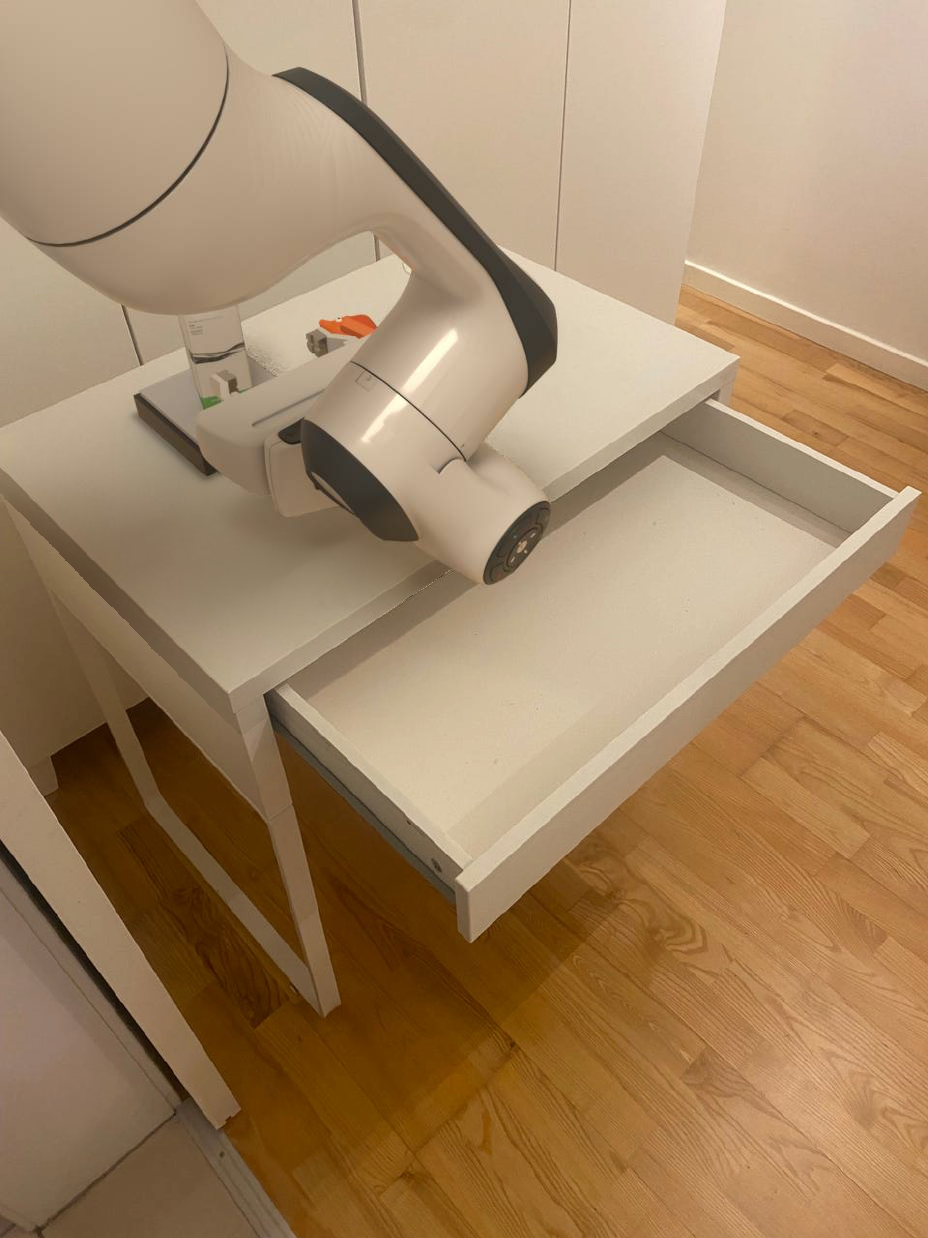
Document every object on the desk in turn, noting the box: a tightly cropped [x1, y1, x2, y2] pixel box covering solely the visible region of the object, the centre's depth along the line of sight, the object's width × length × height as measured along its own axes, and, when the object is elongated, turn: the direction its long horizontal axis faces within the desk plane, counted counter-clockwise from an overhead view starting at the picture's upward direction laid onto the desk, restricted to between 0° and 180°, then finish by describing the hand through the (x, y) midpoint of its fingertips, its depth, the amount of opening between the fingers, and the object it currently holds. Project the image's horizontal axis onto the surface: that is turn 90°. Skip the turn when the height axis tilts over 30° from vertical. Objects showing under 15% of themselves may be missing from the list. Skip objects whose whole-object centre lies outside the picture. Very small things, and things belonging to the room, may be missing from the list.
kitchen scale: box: [132, 354, 277, 477], centre depth 91 cm, size 12×12×3 cm
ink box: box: [177, 304, 253, 410], centre depth 86 cm, size 9×5×12 cm, turn 20°
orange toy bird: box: [318, 313, 378, 339], centre depth 96 cm, size 5×8×12 cm
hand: (266, 358), depth 79 cm, fingers open, 8 cm apart
